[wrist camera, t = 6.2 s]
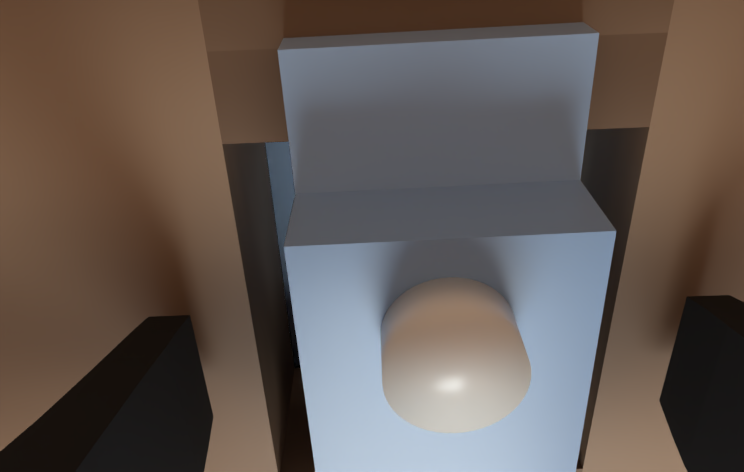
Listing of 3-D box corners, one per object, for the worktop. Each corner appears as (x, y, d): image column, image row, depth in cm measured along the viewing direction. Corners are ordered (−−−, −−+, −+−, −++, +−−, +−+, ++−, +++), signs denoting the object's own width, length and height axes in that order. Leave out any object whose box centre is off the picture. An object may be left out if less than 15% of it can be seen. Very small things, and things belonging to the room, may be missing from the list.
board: (742, 435, 15) (820, 549, 13) (97, 457, 15) (43, 575, 13) (951, -129, 9) (1179, -131, 7) (-108, -83, 9) (-286, -67, 7)
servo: (497, 379, 14) (569, 647, 9) (343, 386, 14) (331, 656, 9) (524, -17, 10) (684, 88, 5) (304, -5, 10) (246, 110, 5)
